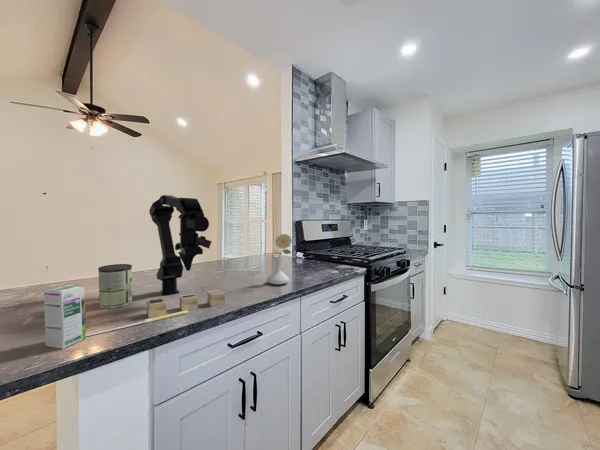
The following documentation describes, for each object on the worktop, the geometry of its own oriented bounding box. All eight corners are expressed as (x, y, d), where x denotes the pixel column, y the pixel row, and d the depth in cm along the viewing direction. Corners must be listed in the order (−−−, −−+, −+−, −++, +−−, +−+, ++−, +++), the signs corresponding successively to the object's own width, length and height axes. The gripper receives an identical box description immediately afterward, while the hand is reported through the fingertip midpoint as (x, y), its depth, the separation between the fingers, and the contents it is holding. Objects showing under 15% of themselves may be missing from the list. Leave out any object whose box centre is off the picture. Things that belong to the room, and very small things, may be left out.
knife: (59, 337, 71) (59, 340, 68) (185, 308, 94) (189, 309, 91) (59, 342, 71) (59, 345, 68) (185, 312, 94) (190, 313, 90)
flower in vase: (262, 284, 129) (262, 233, 129) (273, 279, 140) (273, 232, 139) (286, 287, 124) (287, 234, 124) (296, 282, 135) (296, 233, 134)
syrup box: (62, 349, 65) (61, 291, 65) (44, 346, 67) (43, 289, 66) (86, 339, 71) (85, 285, 70) (68, 336, 72) (68, 283, 72)
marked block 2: (179, 308, 96) (179, 295, 96) (194, 305, 99) (194, 293, 98) (182, 312, 92) (182, 298, 92) (197, 309, 95) (197, 296, 94)
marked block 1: (146, 313, 90) (146, 300, 90) (163, 310, 93) (163, 297, 93) (149, 318, 86) (148, 304, 86) (166, 315, 89) (165, 301, 89)
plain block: (207, 303, 101) (207, 291, 101) (220, 301, 104) (220, 289, 104) (211, 307, 97) (211, 295, 97) (224, 304, 100) (224, 292, 100)
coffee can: (96, 303, 99) (96, 266, 98) (128, 297, 106) (128, 262, 106) (101, 310, 92) (100, 270, 91) (135, 304, 99) (135, 266, 98)
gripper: (216, 231, 99) (216, 272, 100) (202, 228, 115) (202, 264, 115) (185, 232, 93) (185, 276, 94) (174, 229, 108) (174, 267, 109)
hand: (188, 270), depth 103 cm, fingers closed
